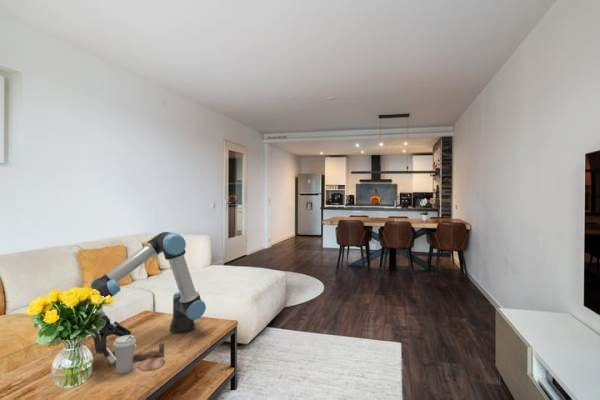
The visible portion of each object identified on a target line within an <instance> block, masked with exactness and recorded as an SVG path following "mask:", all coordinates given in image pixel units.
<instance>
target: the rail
mask: <svg viewBox="0 0 600 400" xmlns="http://www.w3.org/2000/svg"><path fill="white" fill-rule="evenodd" d="M111 352H112V354H113V355H114V356H115V351H111ZM164 356H165V343H159V344H158V349H155V350H150V351H145V352H140V353H139V352H138V353H134V354H133V362H132V364H133V363H138V362H139V363H138V365H137V368H138V370H140V371H143V372H151V371H156V370H158V369H160V368H162V367H164V365H165V363H166V360H165V359H164V358H163V357H164ZM109 367H116V361H114V362H113V363H111V362H110V361H109Z"/></svg>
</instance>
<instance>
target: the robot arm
mask: <svg viewBox="0 0 600 400" xmlns="http://www.w3.org/2000/svg"><path fill="white" fill-rule="evenodd" d="M186 247H187V244H186V239H185V238H184V237H183V236H182V235H181V234H179V233H176V232H169V231H164V232H161V233H158V234H157V235H155V236H154V237H152V238H151V239H150V240H148V241H147V242H146V243H145V246H143V247H141V248H140V249H138V250H137V251H136V252H134V253H133V254H132V255H130V256H129V257H127V258H126V259H125V260H124V261H122V262H120V263H119V264H118V265H116V266H115V267H114V268H112V269H111V270H109V271H108V272H106V273H105V274H103V275H102V276H101V277H97V278H95V279H93V280H92V281H91V283H90V288H92V289H96V290H98V291H99V292H100V295H101V296H104V297H106V296H108V295H110V296H111V298H112V297H114V296H116V295H117V294H118V293H119V292H121V289H122V288H121V287H120V284H118V283H119V282H120V281H121V280H123V279H124V278H126V277H127V276H128V275H129V274H131V273H132V272H133V271H135V270H137V268H139V267H141V266H142V265H143V264H145V263H146V262H148V260H150V259H151V258H152V257H154V256H155V257H157V256H158V255H160V254H161V253H162V254H163V255H164V259H165V260H166V261H168V262H169V265H170V267H171V271H172V274H173V277H174V280H175V282H176V287H177V289H178V292H176V293H174V294H173V299H172V319H171V321H170V325H169V331H170V332H171V333H174V334H183V333H184V334H185V333H188V332H191V331H193V330H195V329H196V321H195V320H198V319H200V318H201V317H203V316H204V314H205V312H206V309H207V306H206V303H205V301H203V300H202V299H201V295H200V292H198V291H196V289H195V285H194V282H193V280H192V275H191V273H190V269H189V267H188V264H187V261H186V260H187V259H186V258H185V254H186ZM92 289H91V290H92ZM98 312H100V313H101V312H103V315H102V317H101V319H103V320H106V324H105V326H104V327H103V328H102V329H101V330H99V331H98V333H97V334H94V335H92V334H91V337H92V339H93V343H94V349H95V353H96V354H100V355H101V354H102V355H103V357H105V358H107V360H109V363H110V362H111V363H113V362H114V361H115V360H116V357H115V356H114V355H113V354H112V352H113V351H111V350H110V348H109V347H107V339H108V337H109V336H114V335H115V336H117V337H121V336H126V335H131V334H132V331H131V330H129V329H128V328H126V327H124V326H123V325H121V324H119V323H118V321H114V322H113V323H111V320H110V318H109V317H108V315H107V314H106V312H105V311H104V310H103V309H102V308H101V310H99V311H98ZM136 348H137V344H136V343H135V345H134V349H136Z"/></svg>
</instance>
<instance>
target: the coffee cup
mask: <svg viewBox="0 0 600 400" xmlns="http://www.w3.org/2000/svg"><path fill="white" fill-rule="evenodd" d="M136 342H137V340H136V338H135V336H134V335H131V334H130V335H125V336H121V337H119V336H117V337H116V338H115V340H114V342H113V345H112V346H113V347H114V352H115V357H116V360H115V361H116V366H115V373H117V375H118V374H120V375H122V374H126V373H129V372H130V371H132V369H133V363H134V362H133V354H135V353H134V351H135V348H134V345H135V344H136ZM132 362H133V363H132Z"/></svg>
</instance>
